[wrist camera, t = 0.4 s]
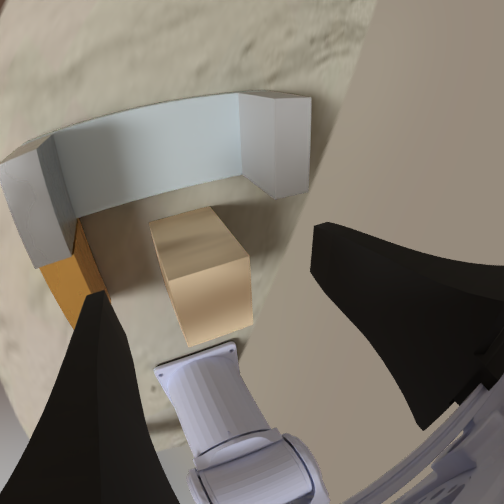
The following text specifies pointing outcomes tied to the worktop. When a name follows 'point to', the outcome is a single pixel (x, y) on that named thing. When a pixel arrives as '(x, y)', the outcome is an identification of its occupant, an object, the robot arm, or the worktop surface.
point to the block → (204, 274)
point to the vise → (187, 148)
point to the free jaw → (50, 224)
